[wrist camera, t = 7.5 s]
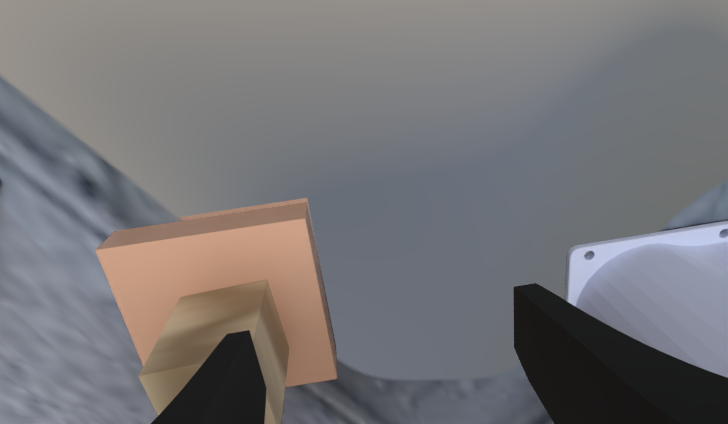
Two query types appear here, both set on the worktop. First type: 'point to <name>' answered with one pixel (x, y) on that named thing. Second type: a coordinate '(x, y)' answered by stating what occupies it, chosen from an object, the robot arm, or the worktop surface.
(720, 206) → the worktop surface
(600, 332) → the robot arm
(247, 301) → the beech block
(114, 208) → the worktop surface
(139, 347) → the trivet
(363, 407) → the worktop surface
